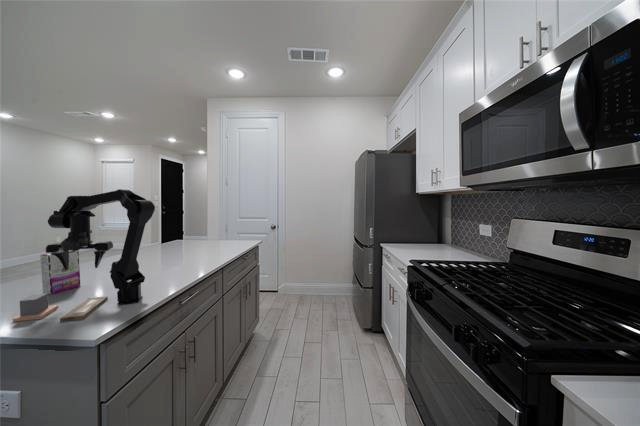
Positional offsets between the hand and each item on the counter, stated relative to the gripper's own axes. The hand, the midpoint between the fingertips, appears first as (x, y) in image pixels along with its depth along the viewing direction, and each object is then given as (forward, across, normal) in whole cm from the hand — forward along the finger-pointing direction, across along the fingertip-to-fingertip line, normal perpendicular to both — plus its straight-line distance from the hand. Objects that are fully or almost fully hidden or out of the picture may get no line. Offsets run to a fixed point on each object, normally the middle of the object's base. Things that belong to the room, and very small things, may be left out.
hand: (81, 268), depth 101 cm
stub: (+12, -7, -12) cm, 19 cm away
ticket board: (+12, +6, -12) cm, 18 cm away
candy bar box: (+12, -14, +16) cm, 25 cm away
